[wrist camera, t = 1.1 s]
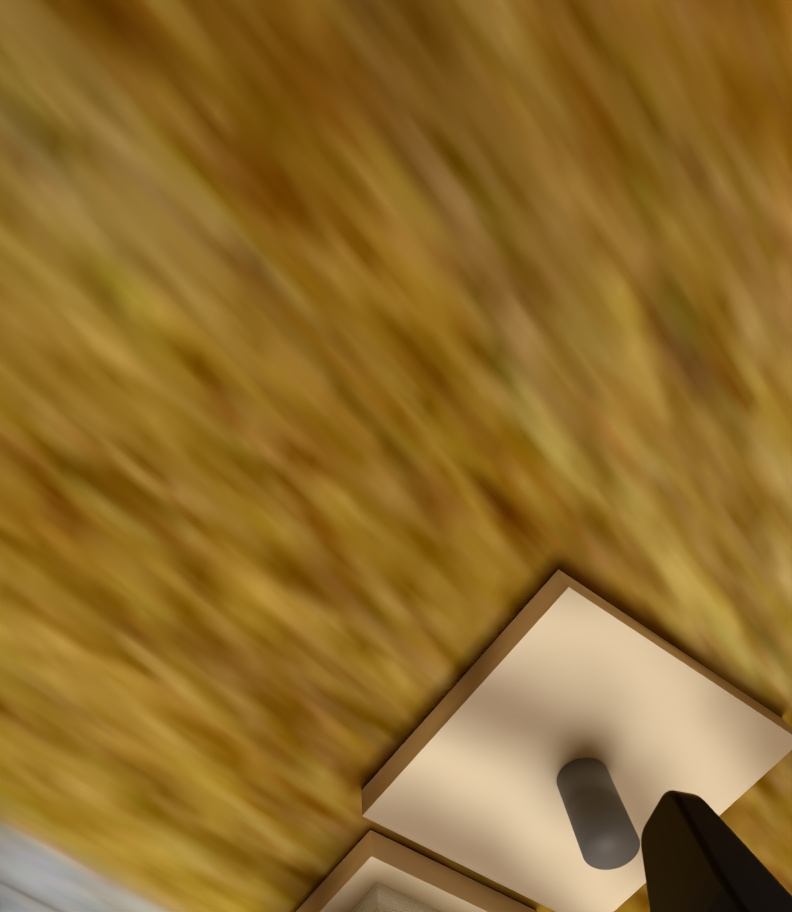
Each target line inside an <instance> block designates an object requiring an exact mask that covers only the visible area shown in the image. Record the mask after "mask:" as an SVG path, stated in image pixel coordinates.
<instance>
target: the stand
mask: <svg viewBox="0 0 792 912" xmlns="http://www.w3.org/2000/svg"><path fill="white" fill-rule="evenodd" d="M376 882H379V883H381V884H383V885H385V886H387V887H389V888H392V889H394V890H396V891H398V892H400V893H402V894H404V895H407V896H409V897H411V898H413V899H415V900H417V901H419V902H422V903H424V904H426V905H428V906H430V907H432V908H434V909H437V910H439V911H441V912H537V911H536V910H534V909H532V908H529V907H527V906H525V905H523V904H521V903H519V902H517V901H515V900H513V899H511V898H509V897H507V896H505V895H503V894H501V893H499V892H497V891H495V890H493V889H491V888H489V887H487V886H485V885H482V884H480V883H478V882H476V881H474V880H472V879H470V878H468V877H466V876H464V875H462V874H460V873H458V872H456V871H454V870H452V869H450V868H448V867H446V866H444V865H442V864H440V863H437V862H435V861H433V860H431V859H429V858H427V857H425V856H423V855H421V854H419V853H417V852H415V851H413V850H411V849H409V848H407V847H405V846H403V845H401V844H399V843H397V842H395V841H393V840H390V839H388V838H386V837H384V836H382V835H380V834H378V833H376V832H374V831H372V830H370V831H369V832H368V833H367V834H366V835H365V836H364V837H363V838H362V839H361V841H360V842H359V843H358V844H357V845H356V846H355V847H354V848H353V849H352V850H351V852H350V853H349V854H348V855H347V856H346V857H345V858H344V859H343V860H342V861H341V862H340V864H339V865H338V866H337V867H336V868H335V869H334V870H333V871H332V872H331V873H330V875H329V876H328V877H327V878H326V879H325V880H324V881H323V882H322V883H321V884H320V885H319V887H318V888H317V889H316V890H315V891H314V892H313V893H312V894H311V895H310V896H309V898H308V899H307V900H306V901H305V902H304V903H303V904H302V905H301V906H300V907H299V908H298V910H297V911H296V912H349V911H350V910H351V909H352V908H353V907H354V906H355V905H356V904H357V903H358V902H359V900H360V899H361V898H362V897H363V896H364V895H365V894H366V893H367V892H368V891H369V890H370V889H371V888H372V887H373V886H374V885H375V884H376Z"/></svg>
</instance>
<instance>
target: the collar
mask: <svg viewBox="0 0 792 912" xmlns="http://www.w3.org/2000/svg"><path fill="white" fill-rule="evenodd" d="M349 912H441V911H439V910H437V909H434V908H432V907H430V906H428V905H426V904H424V903H422V902H419V901H417V900H415V899H413V898H411V897H409V896H407V895H404V894H402V893H400V892H398V891H396V890H394V889H392V888H389V887H387V886H385V885H383V884H381V883H379V882H376V884H375V885H374V886H373V887H372V888H371V889H370V890H369V891H368V892H367V893H366V894H365V895H364V896H363V897H362V898H361V899H360V900H359V902H358V903H357V904H356V905H355V906H354V907H353V908H352V909H351V910H350V911H349Z"/></svg>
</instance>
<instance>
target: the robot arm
mask: <svg viewBox="0 0 792 912" xmlns="http://www.w3.org/2000/svg"><path fill="white" fill-rule="evenodd" d="M641 850H642V857H643V864H644V870H645V877H646V884H647V891H648V898H649V905H650V912H792V896H791V895H790V894H789V893H788V891H787V890H786V889H785V888H784V887H783V886H782V885H781V884H780V883H779V882H778V880H777V879H776V878H775V877H774V876H773V875H772V874H771V873H770V872H769V871H768V870H767V868H766V867H765V866H764V865H763V864H762V863H761V862H760V861H759V860H758V859H757V858H756V856H755V855H754V854H753V853H752V852H751V851H750V850H749V849H748V848H747V847H746V845H745V844H744V843H743V842H742V841H741V840H740V839H739V838H738V837H737V836H736V835H735V833H734V832H733V831H732V830H731V829H730V828H729V827H728V826H727V825H726V824H725V822H724V821H723V820H722V819H721V818H720V817H719V816H718V815H717V814H716V813H715V812H714V810H713V809H712V808H711V807H710V806H709V805H708V804H707V803H706V802H705V801H704V800H703V799H702V798H701V797H699V796H698V795H695V794H691V793H686V792H680V791H675V790H669V791H667V792H666V793H664V794H663V796H662V797H661V799H660V800H659V802H658V804H657V806H656V807H655V809H654V811H653V812H652V814H651V816H650V817H649V819H648V821H647V822H646V824H645V826H644V828H643V832H642V836H641Z"/></svg>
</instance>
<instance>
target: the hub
mask: <svg viewBox="0 0 792 912" xmlns="http://www.w3.org/2000/svg"><path fill="white" fill-rule="evenodd" d="M791 750H792V729H791V728H790V727H789V726H788V724H787V723H786V722H785V721H784V720H783V719H782V718H781V717H779V716H778V715H776V714H775V713H773V712H772V711H770V710H769V709H767V708H766V707H764V706H763V705H761V704H760V703H758V702H757V701H755V700H754V699H752V698H751V697H749V696H748V695H746V694H745V693H743V692H742V691H740V690H739V689H737V688H736V687H734V686H733V685H731V684H730V683H728V682H727V681H725V680H724V679H722V678H721V677H719V676H718V675H716V674H715V673H713V672H712V671H710V670H709V669H707V668H706V667H704V666H703V665H701V664H700V663H698V662H697V661H695V660H694V659H692V658H691V657H689V656H688V655H686V654H685V653H683V652H682V651H680V650H679V649H677V648H676V647H674V646H673V645H671V644H670V643H668V642H667V641H665V640H664V639H662V638H661V637H659V636H658V635H656V634H655V633H653V632H652V631H650V630H649V629H647V628H646V627H644V626H643V625H641V624H640V623H638V622H637V621H635V620H634V619H632V618H631V617H629V616H628V615H626V614H625V613H623V612H622V611H620V610H619V609H617V608H616V607H614V606H613V605H611V604H610V603H608V602H607V601H605V600H604V599H602V598H601V597H599V596H598V595H596V594H595V593H593V592H592V591H590V590H589V589H587V588H586V587H584V586H583V585H581V584H580V583H578V582H577V581H575V580H574V579H572V578H571V577H569V576H568V575H566V574H565V573H563V572H562V571H560V570H559V569H558V570H557V571H556V572H555V573H554V575H553V576H552V577H551V578H550V579H549V580H548V581H547V582H546V584H545V585H544V586H543V587H542V588H541V589H540V590H539V591H538V593H537V594H536V595H535V596H534V597H533V598H532V599H531V600H530V602H529V603H528V604H527V605H526V606H525V607H524V608H523V609H522V611H521V612H520V613H519V614H518V615H517V616H516V617H515V618H514V620H513V621H512V622H511V623H510V624H509V625H508V626H507V627H506V629H505V630H504V631H503V632H502V633H501V634H500V635H499V636H498V638H497V639H496V640H495V641H494V642H493V643H492V644H491V645H490V647H489V648H488V649H487V650H486V651H485V652H484V653H483V654H482V656H481V657H480V658H479V659H478V660H477V661H476V662H475V663H474V665H473V666H472V667H471V668H470V669H469V670H468V671H467V672H466V674H465V675H464V676H463V677H462V678H461V679H460V680H459V681H458V683H457V684H456V685H455V686H454V687H453V688H452V689H451V690H450V692H449V693H448V694H447V695H446V696H445V697H444V698H443V699H442V701H441V702H440V703H439V704H438V705H437V706H436V707H435V708H434V710H433V711H432V712H431V713H430V714H429V715H428V716H427V717H426V719H425V720H424V721H423V722H422V723H421V724H420V725H419V726H418V728H417V729H416V730H415V731H414V732H413V733H412V734H411V735H410V737H409V738H408V739H407V740H406V741H405V742H404V743H403V744H402V746H401V747H400V748H399V749H398V750H397V751H396V752H395V753H394V755H393V756H392V757H391V758H390V759H389V760H388V761H387V762H386V764H385V765H384V766H383V767H382V768H381V769H380V770H379V771H378V773H377V774H376V775H375V776H374V777H373V778H372V779H371V780H370V782H369V783H368V784H367V785H366V786H365V787H364V788H363V789H362V816H363V817H365V818H367V819H369V820H371V821H373V822H375V823H377V824H379V825H381V826H383V827H385V828H388V829H390V830H392V831H394V832H396V833H398V834H400V835H402V836H404V837H406V838H408V839H410V840H412V841H414V842H416V843H418V844H420V845H422V846H424V847H426V848H428V849H430V850H432V851H434V852H436V853H438V854H440V855H442V856H444V857H446V858H448V859H450V860H452V861H454V862H456V863H458V864H460V865H462V866H465V867H467V868H469V869H471V870H473V871H475V872H477V873H479V874H481V875H483V876H485V877H487V878H489V879H491V880H493V881H495V882H497V883H499V884H501V885H503V886H505V887H507V888H509V889H511V890H513V891H515V892H517V893H519V894H521V895H523V896H525V897H527V898H529V899H531V900H533V901H535V902H537V903H539V904H542V905H544V906H546V907H548V908H550V909H552V910H554V911H556V912H614V911H615V910H616V909H617V908H618V907H619V906H620V905H621V904H623V903H624V902H625V901H626V900H627V899H628V898H629V897H630V896H631V895H632V894H634V893H635V892H636V891H637V890H638V889H639V888H640V887H641V886H642V885H643V884H645V883H646V877H645V870H644V864H643V857H642V850H641V836H642V832H643V828H644V826H645V824H646V822H647V821H648V819H649V817H650V816H651V814H652V812H653V811H654V809H655V807H656V806H657V804H658V802H659V800H660V799H661V797H662V796H663V794H664V793H666V792H667V791H669V790H675V791H680V792H686V793H691V794H695V795H698V796H699V797H701V798H702V799H703V800H704V801H705V802H706V803H707V804H708V805H709V806H710V807H711V808H712V809H713V810H714V812H715V813H716V814H717V815H718V816H719V815H720V814H722V813H723V812H724V811H725V810H726V809H727V808H728V807H729V806H730V805H731V804H733V803H734V802H735V801H736V800H737V799H738V798H739V797H740V796H741V795H742V794H744V793H745V792H746V791H747V790H748V789H749V788H750V787H751V786H752V785H753V784H755V783H756V782H757V781H758V780H759V779H760V778H761V777H762V776H763V775H764V774H766V773H767V772H768V771H769V770H770V769H771V768H772V767H773V766H774V765H775V764H777V763H778V762H779V761H780V760H781V759H782V758H783V757H784V756H785V755H786V754H788V753H789V752H790V751H791Z"/></svg>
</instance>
